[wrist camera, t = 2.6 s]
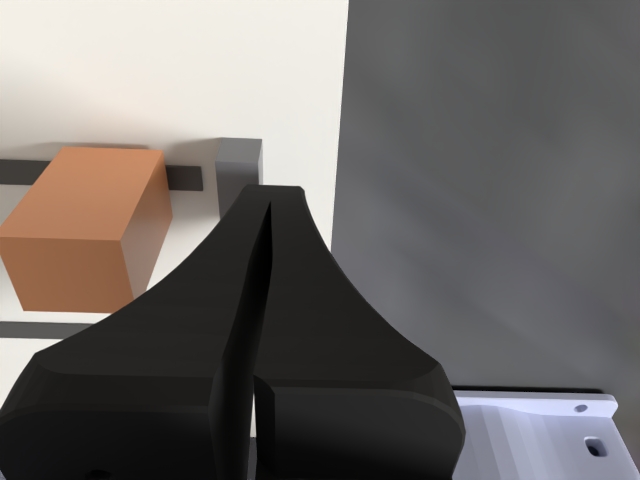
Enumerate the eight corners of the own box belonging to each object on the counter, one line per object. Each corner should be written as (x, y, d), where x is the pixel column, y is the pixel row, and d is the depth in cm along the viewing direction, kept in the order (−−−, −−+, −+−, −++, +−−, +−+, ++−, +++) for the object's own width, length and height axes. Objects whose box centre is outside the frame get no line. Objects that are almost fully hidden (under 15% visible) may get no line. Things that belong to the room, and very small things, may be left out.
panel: (351, -88, 11) (358, -71, 10) (316, 412, 22) (316, 466, 21) (-587, -136, 11) (-779, -128, 9) (-149, 402, 22) (-193, 457, 20)
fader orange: (162, 150, 13) (120, 240, 10) (172, 216, 14) (137, 314, 11) (63, 146, 13) (-8, 236, 10) (81, 214, 14) (23, 310, 11)
